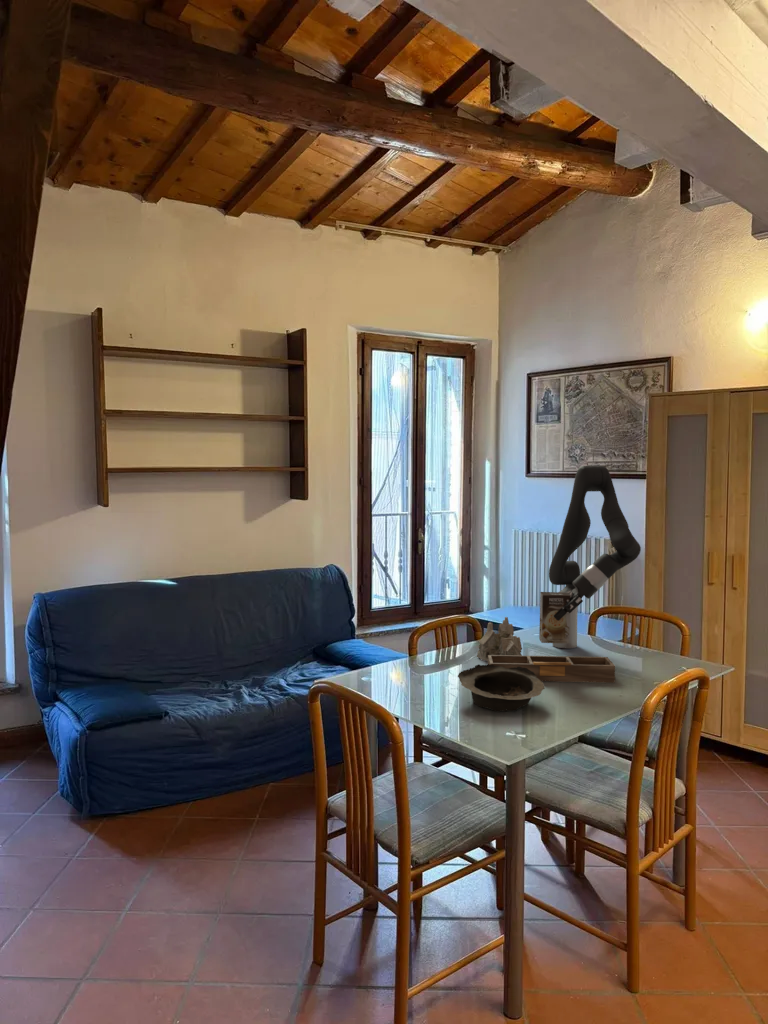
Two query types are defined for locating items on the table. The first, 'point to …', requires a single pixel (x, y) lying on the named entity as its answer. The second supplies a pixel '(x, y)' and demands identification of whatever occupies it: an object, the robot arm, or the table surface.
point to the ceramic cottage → (499, 641)
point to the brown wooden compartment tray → (560, 667)
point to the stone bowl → (501, 686)
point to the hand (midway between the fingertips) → (553, 616)
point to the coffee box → (549, 625)
